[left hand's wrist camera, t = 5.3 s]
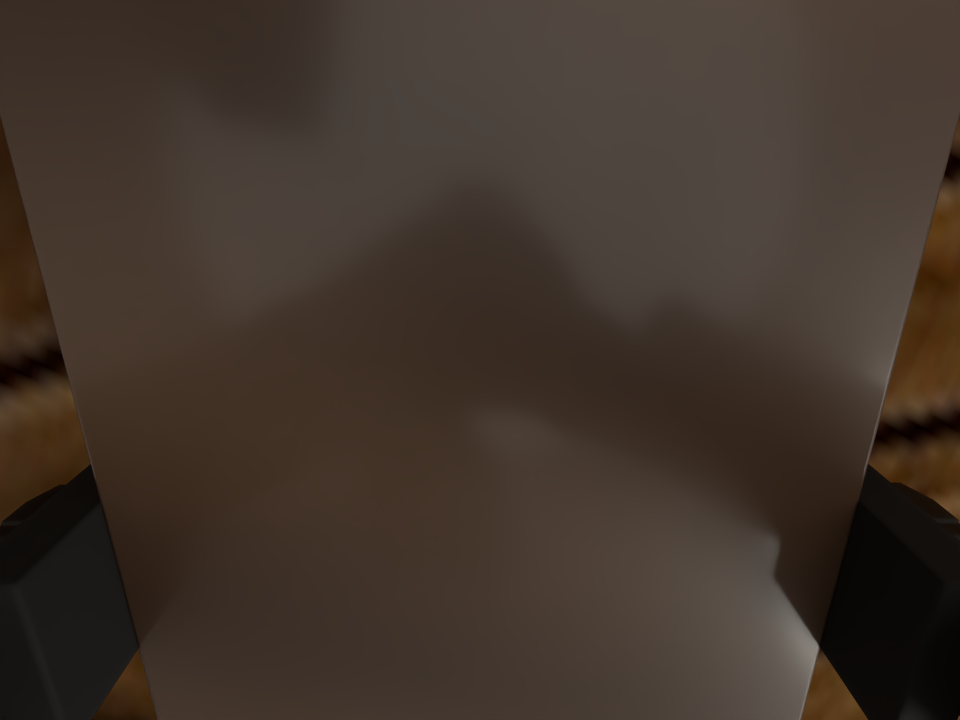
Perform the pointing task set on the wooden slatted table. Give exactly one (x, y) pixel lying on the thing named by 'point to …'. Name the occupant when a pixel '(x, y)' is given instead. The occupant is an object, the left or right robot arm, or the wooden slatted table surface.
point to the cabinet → (479, 334)
